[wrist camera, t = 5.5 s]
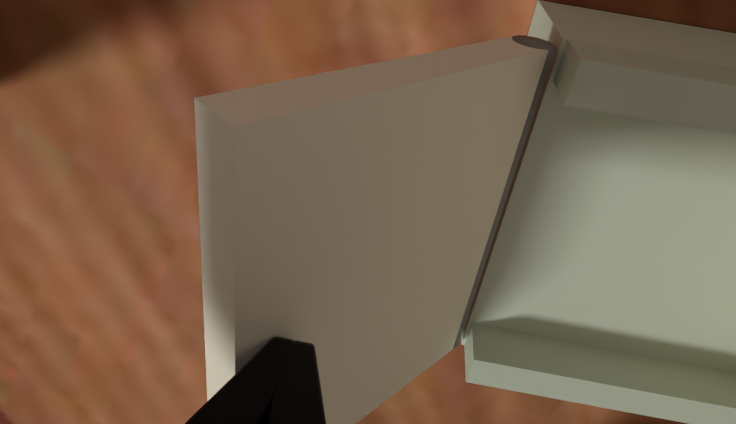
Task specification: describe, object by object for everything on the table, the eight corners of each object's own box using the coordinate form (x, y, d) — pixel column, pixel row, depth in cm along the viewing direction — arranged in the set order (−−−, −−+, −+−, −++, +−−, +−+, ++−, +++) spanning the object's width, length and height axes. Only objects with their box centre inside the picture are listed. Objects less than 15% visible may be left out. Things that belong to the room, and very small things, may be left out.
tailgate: (442, 321, 18) (465, 339, 18) (211, 483, 13) (234, 516, 12) (526, 33, 13) (563, 46, 12) (194, 98, 7) (235, 126, 7)
